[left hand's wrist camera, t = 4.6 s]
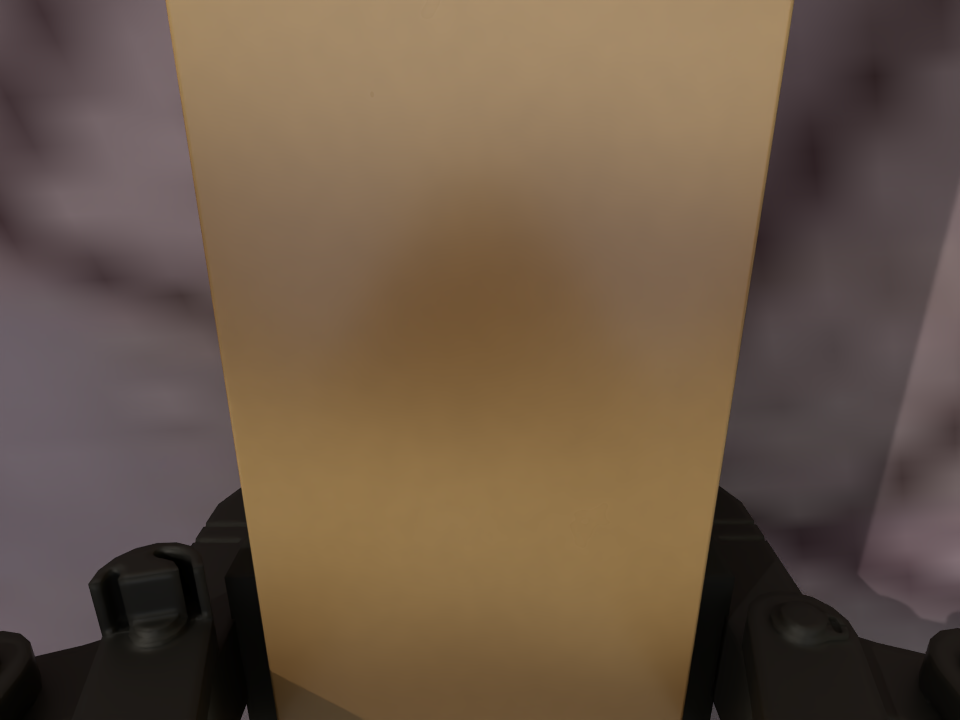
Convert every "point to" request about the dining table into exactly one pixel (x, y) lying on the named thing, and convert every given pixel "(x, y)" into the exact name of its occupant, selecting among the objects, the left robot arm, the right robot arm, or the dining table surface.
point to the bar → (479, 333)
